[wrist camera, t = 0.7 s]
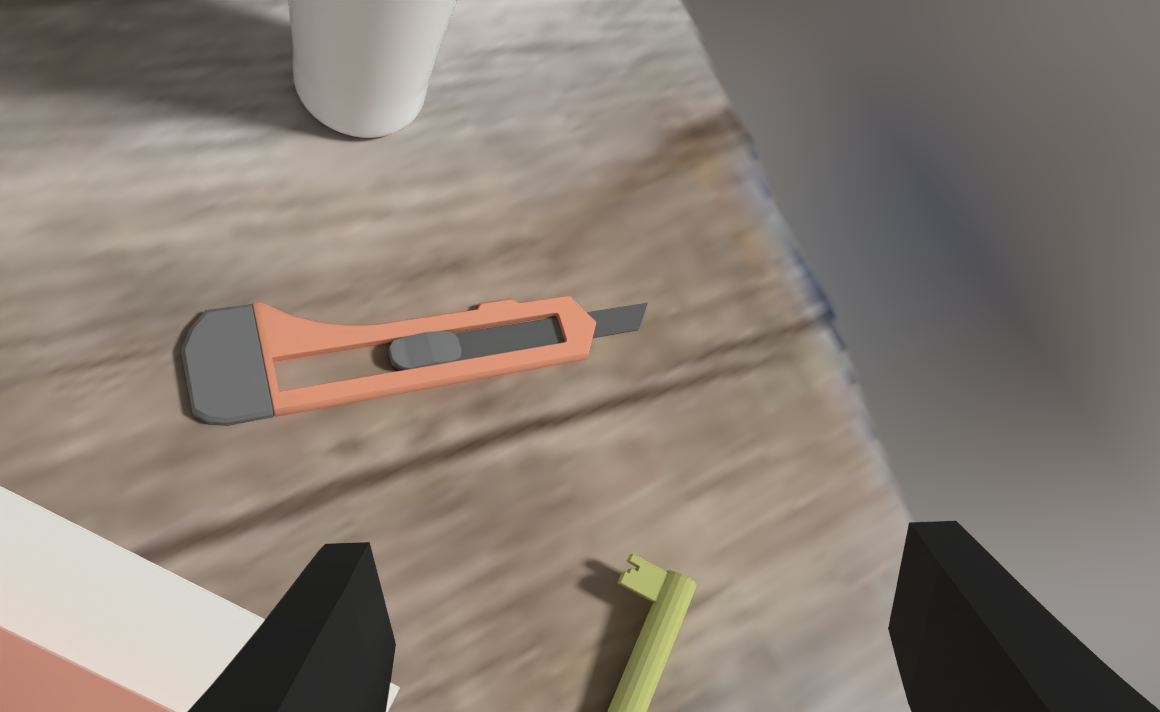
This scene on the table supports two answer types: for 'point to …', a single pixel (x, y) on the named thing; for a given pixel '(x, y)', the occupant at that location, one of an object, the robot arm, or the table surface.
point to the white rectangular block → (114, 608)
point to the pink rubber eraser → (59, 683)
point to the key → (651, 631)
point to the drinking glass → (366, 60)
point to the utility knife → (419, 346)
